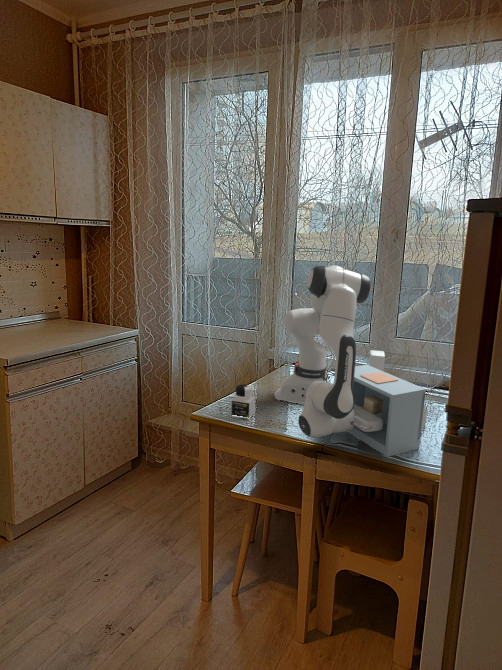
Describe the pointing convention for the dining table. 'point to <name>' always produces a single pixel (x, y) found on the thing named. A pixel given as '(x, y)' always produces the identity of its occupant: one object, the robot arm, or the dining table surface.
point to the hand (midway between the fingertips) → (374, 411)
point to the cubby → (390, 410)
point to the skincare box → (377, 359)
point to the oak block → (373, 404)
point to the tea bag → (424, 418)
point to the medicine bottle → (243, 401)
